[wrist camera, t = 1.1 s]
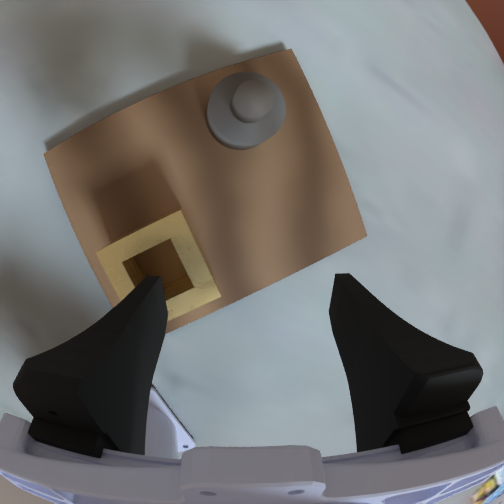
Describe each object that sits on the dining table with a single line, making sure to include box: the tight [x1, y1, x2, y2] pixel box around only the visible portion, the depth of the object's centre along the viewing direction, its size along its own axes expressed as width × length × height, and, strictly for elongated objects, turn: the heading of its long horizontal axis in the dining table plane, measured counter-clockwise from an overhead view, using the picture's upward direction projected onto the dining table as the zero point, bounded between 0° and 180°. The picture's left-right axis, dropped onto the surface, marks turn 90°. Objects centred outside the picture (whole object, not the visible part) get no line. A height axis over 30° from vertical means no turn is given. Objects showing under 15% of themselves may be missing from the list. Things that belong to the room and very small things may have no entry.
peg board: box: [44, 49, 367, 334], centre depth 20 cm, size 20×16×6 cm
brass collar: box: [96, 207, 221, 321], centre depth 20 cm, size 6×6×4 cm
